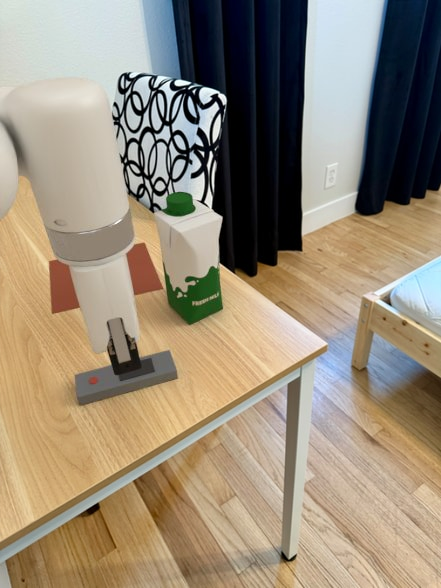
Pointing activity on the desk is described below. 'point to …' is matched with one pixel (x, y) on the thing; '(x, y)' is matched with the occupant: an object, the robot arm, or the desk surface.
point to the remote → (124, 378)
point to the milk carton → (190, 256)
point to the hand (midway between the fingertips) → (127, 367)
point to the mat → (140, 273)
